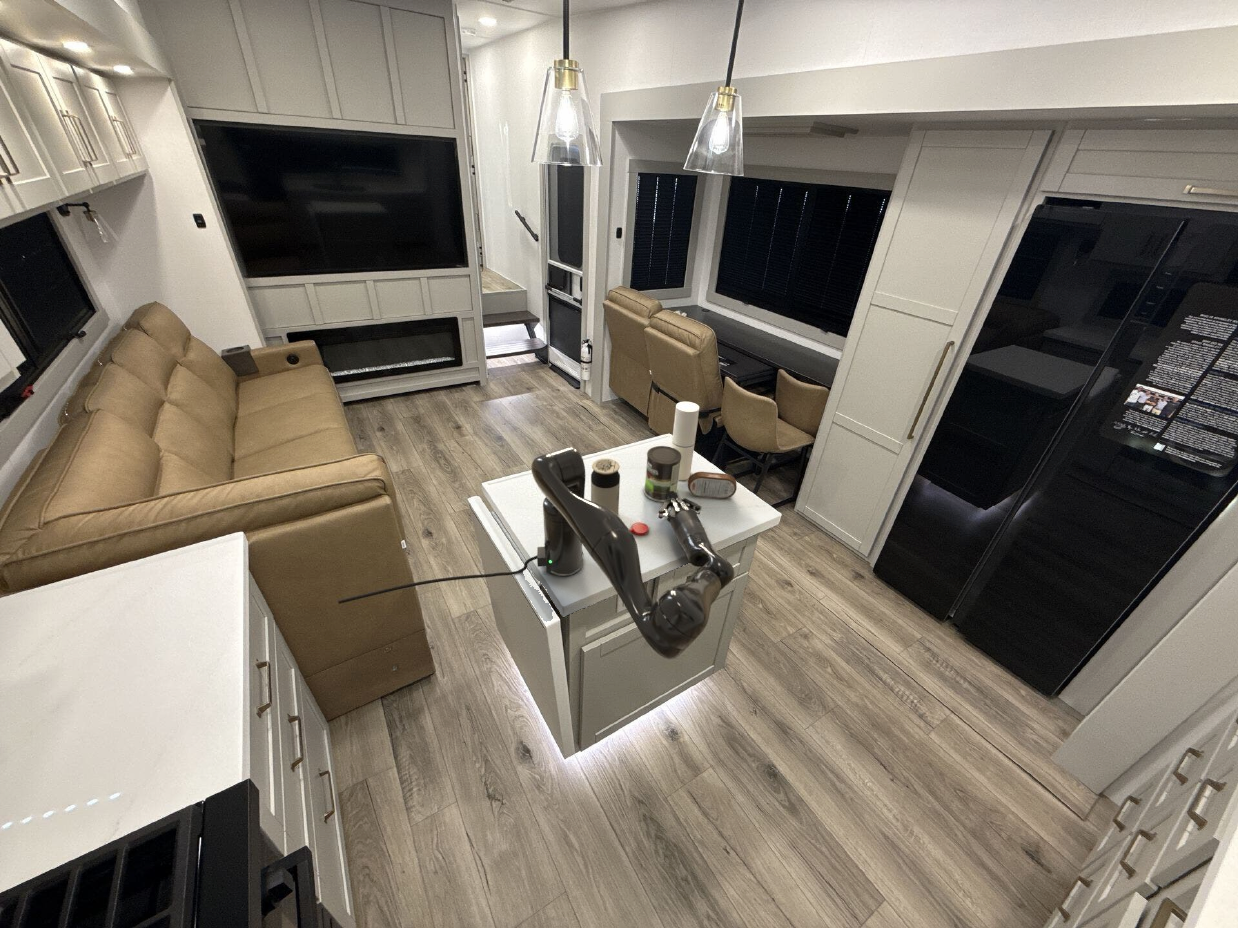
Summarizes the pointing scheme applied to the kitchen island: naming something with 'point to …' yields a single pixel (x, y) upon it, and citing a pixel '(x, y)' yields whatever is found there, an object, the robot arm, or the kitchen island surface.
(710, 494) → the tin
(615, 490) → the travel mug
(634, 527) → the red spoon
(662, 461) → the coffee can
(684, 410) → the cylindrical container
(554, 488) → the robot arm
